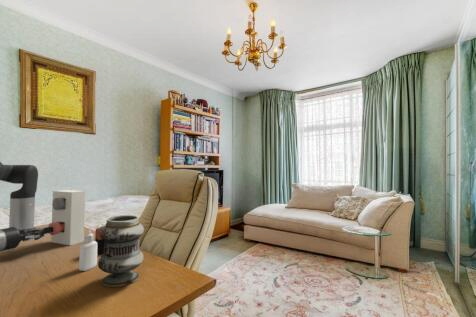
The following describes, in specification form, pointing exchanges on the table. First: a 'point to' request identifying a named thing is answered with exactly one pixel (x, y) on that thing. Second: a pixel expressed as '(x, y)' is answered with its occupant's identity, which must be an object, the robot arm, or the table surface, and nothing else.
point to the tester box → (70, 217)
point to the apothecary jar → (121, 250)
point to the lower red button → (56, 227)
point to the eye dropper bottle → (88, 253)
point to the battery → (99, 241)
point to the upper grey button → (58, 203)
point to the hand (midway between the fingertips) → (51, 229)
